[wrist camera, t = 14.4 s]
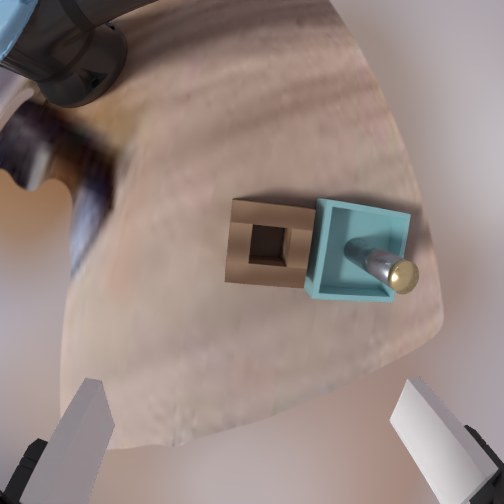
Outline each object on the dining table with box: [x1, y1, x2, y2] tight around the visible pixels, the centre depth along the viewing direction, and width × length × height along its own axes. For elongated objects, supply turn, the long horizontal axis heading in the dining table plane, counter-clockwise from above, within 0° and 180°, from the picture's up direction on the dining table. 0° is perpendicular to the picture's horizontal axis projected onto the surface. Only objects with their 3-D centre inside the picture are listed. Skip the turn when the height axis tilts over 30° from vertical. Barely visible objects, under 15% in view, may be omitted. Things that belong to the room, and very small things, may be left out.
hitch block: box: [225, 199, 316, 288], centre depth 38 cm, size 10×10×5 cm
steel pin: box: [344, 238, 419, 294], centre depth 34 cm, size 4×4×14 cm
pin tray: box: [304, 198, 411, 302], centre depth 39 cm, size 13×13×4 cm
